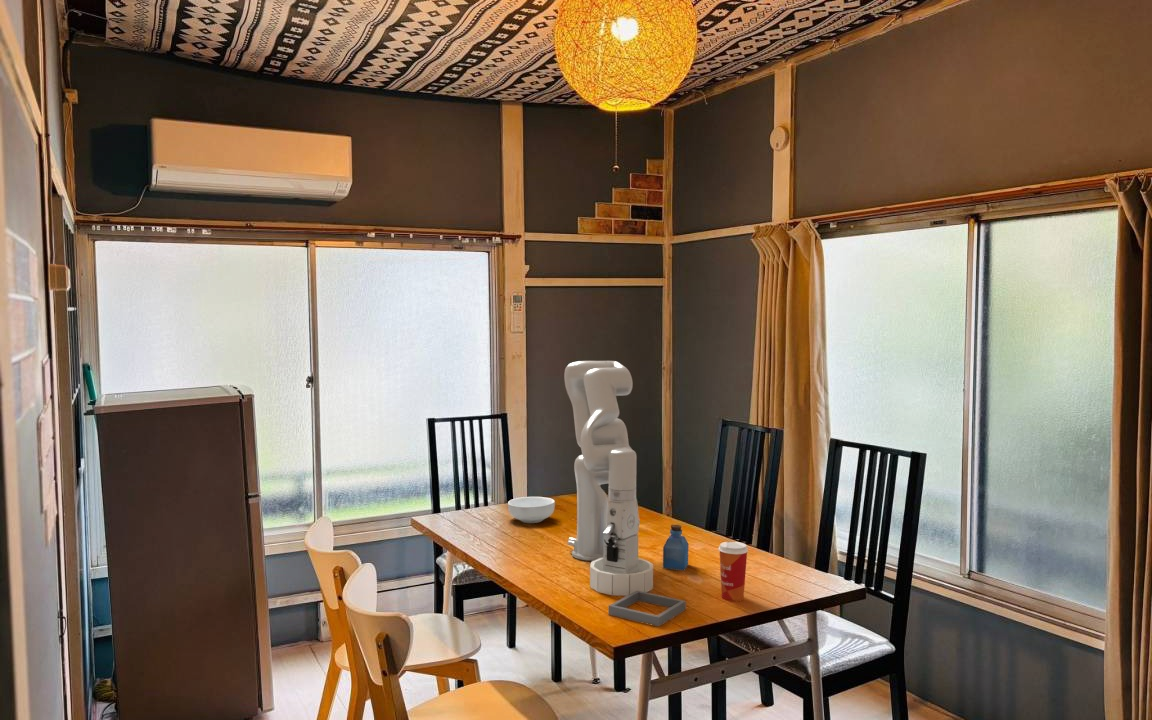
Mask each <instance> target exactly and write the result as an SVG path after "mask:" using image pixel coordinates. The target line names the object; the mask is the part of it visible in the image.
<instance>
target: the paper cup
mask: <svg viewBox="0 0 1152 720" xmlns="http://www.w3.org/2000/svg"><path fill="white" fill-rule="evenodd" d="M718 551H719V566H720V567H719V568H720V591H721V592H720V593H721V598H722V599H723V600H724V599H725V601H727V600H728V602H740V600H741V601H743V600H744V598H745V597H744V596H745V595H744V594H745V585H746V584H745V583H746V573H747V557H748V552H749V549H748V546H747V544H746V543H743V542H739V541H724V542H721V543H720V544H719V546H718Z"/></svg>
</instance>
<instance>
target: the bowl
mask: <svg viewBox="0 0 1152 720" xmlns="http://www.w3.org/2000/svg"><path fill="white" fill-rule="evenodd" d="M589 587H590V588H591V589H593V590H594V591H596V593H601V594H606V595H609V596H621V597H622V596H624V597H626V596H628V595H630V594H631V593H633V592H635V591H637V590H638V591H642V592H647V593H649V592H650V591H652V590H653V589H654V563H652V562H650V561H648V560H647V559H644V558H641V557H638V573H632V574H613V573H609V572H604V571H603V558H599V559H597V560H594V561H590V566H589Z"/></svg>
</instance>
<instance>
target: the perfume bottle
mask: <svg viewBox="0 0 1152 720" xmlns="http://www.w3.org/2000/svg"><path fill="white" fill-rule="evenodd" d="M682 527H683V526H682V525H680V524H671V525H670V528H671V529H670V531H669V534H670V535H669V536H668V537H667V539H666V541H665V543H664V546H663V547H662V569H665V568H667V569H666V570H675V569H677V571H685V570H686V568H687V567H688V566H689V542H688V540H687V539H686V537H685V536H684V535H682V534H683V529H682ZM687 565H688V566H687Z"/></svg>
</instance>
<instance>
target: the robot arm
mask: <svg viewBox="0 0 1152 720" xmlns="http://www.w3.org/2000/svg"><path fill="white" fill-rule="evenodd" d="M564 386H565V390H566V394H567V396H568V398H569V400H570V402H571V406H572V411H573V419H574V420H573V422H574V429H575V438H576V443H577V445H578V446H579V447H580V449H581V454H579V455H578V456H577V457H576V458H575V460H574V465H573V467H574V469H573V471H574V476H575V482H576V497H577V498H576V500H577V501H576V503H577V505H576V514H577V515H576V537H569V538H568V540H567V546H571V547H573V550H571V556H572V557H573V558H576V559H577V560H582V561H587V562H588V561H590V562H592V561H594V560H597V559H599V558H603V538H604V541H605V543H606V546H607V561H612V562H618V547H616V546H617V544H618V541H619V538H620V539H622V540H623V539H626V538H628V537H631V536H633V535H638V533H639V531H640V530H639V529H640V523H641V521H640V517H639V516H640V515H639V506H638V505H639V504H638V499H637V453H636V451H635V450H633V449H632V447H631V446H630V443H629V438H628V437H629V435H628V429H627V426H626V424H625V423H624V422H625V421H623V420H622V419H621V418H619V416H620V408H619V404H618V401H617V397H618V396H628V395H630V394H631V392H632V390H633V378H632V375H631V372H630V370H629V369H628V368H627V367H626V366H624V365H623V364H622V363H620V362H619V361H616V360H578V361H573V362H570V363H568V365H567V366H566V367H565V369H564ZM605 484H606V485H607V484H608V494H607V493H606V492H605V490H604V489H602V487H601V485H605ZM612 539H615V540H614V542H613V540H612Z"/></svg>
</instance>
